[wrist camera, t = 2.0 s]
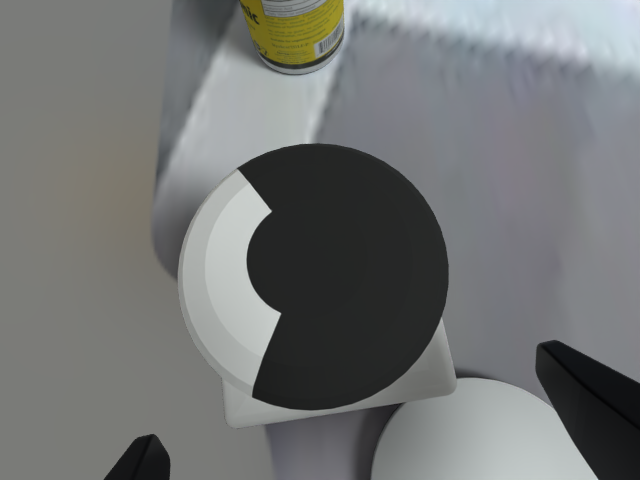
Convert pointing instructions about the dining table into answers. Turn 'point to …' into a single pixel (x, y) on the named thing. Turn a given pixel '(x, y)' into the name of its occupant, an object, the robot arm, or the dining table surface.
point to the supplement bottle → (295, 32)
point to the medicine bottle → (317, 287)
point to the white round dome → (477, 438)
